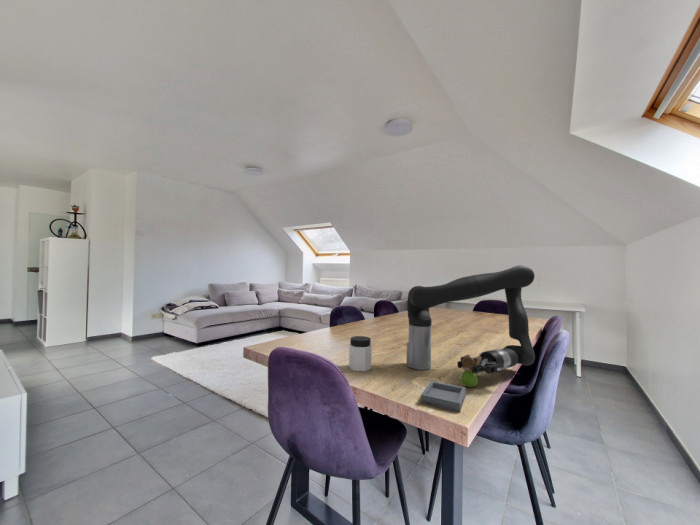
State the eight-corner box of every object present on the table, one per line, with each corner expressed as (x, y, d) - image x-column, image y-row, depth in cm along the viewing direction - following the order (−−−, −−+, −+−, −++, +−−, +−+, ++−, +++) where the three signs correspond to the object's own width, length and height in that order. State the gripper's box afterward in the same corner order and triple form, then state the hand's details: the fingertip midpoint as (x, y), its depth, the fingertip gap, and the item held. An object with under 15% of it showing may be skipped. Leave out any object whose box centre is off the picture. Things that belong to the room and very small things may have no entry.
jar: (346, 365, 121) (346, 336, 122) (364, 363, 125) (364, 335, 125) (355, 373, 113) (355, 341, 113) (374, 370, 116) (374, 340, 117)
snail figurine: (479, 391, 98) (479, 355, 98) (459, 387, 101) (459, 352, 102) (481, 386, 103) (482, 351, 103) (462, 382, 106) (462, 348, 106)
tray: (420, 403, 89) (421, 394, 89) (430, 388, 100) (431, 380, 100) (459, 412, 83) (459, 403, 83) (465, 395, 95) (465, 387, 95)
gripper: (477, 345, 116) (448, 351, 107) (514, 355, 104) (484, 362, 95) (477, 365, 116) (448, 372, 107) (514, 376, 104) (484, 385, 95)
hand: (465, 367), depth 101 cm, fingers closed on snail figurine, 5 cm apart
